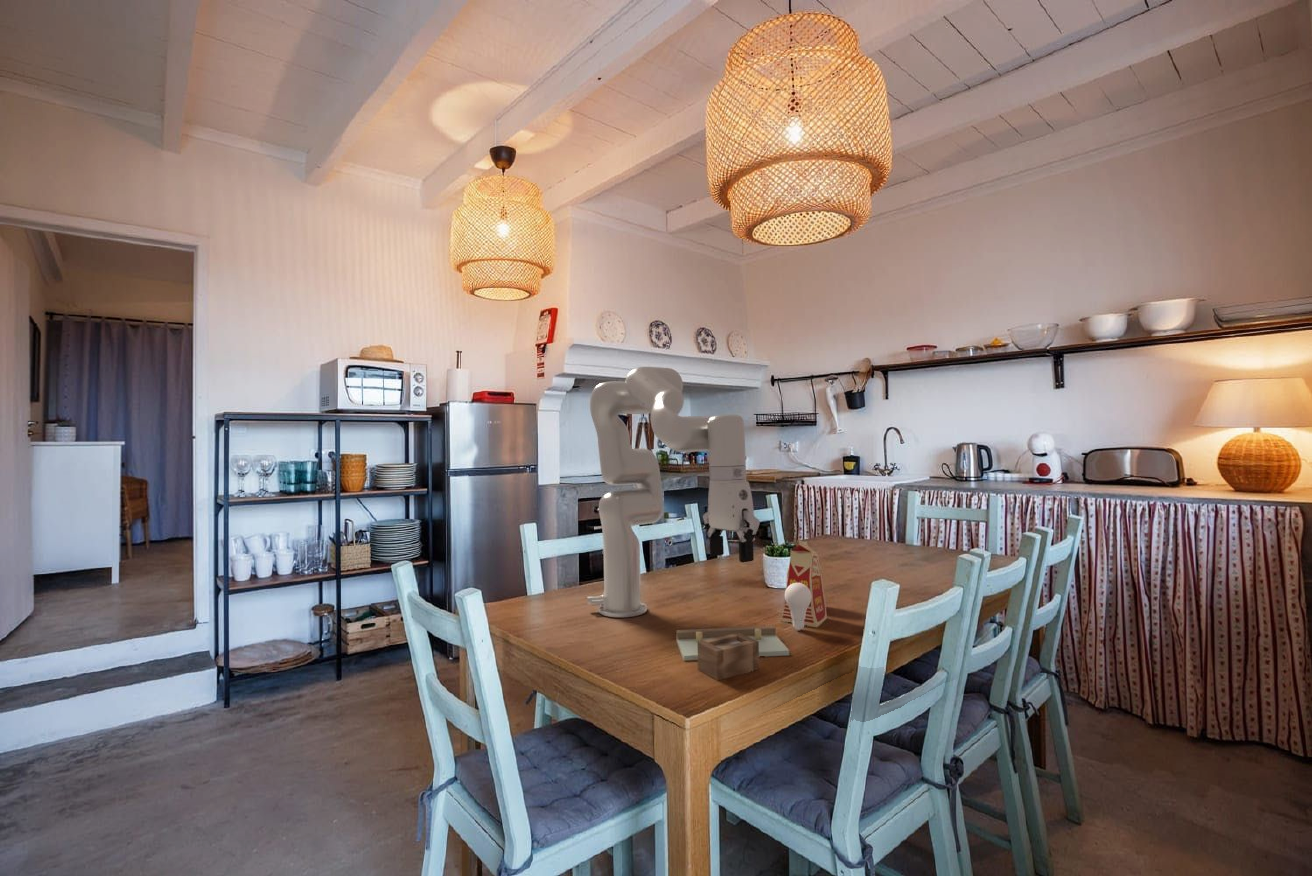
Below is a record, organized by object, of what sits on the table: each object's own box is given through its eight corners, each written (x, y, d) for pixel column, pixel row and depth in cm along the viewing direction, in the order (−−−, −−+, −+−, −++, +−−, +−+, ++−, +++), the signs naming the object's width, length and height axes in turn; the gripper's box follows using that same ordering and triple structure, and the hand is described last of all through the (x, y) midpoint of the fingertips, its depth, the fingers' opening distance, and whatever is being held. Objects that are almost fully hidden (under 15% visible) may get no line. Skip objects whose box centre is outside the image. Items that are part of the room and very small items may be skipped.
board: (683, 660, 127) (683, 646, 127) (676, 641, 139) (676, 627, 139) (789, 655, 129) (789, 640, 129) (773, 636, 141) (773, 623, 141)
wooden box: (717, 680, 116) (716, 651, 116) (698, 669, 122) (697, 641, 122) (759, 669, 121) (758, 641, 121) (738, 659, 127) (738, 632, 127)
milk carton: (816, 627, 147) (815, 542, 147) (779, 621, 152) (778, 539, 152) (828, 617, 155) (826, 536, 155) (792, 612, 160) (791, 534, 159)
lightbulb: (794, 624, 149) (793, 578, 149) (817, 630, 145) (816, 582, 145) (780, 630, 145) (779, 583, 145) (802, 636, 141) (802, 587, 141)
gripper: (770, 474, 123) (773, 561, 122) (717, 473, 138) (720, 551, 137) (740, 476, 119) (744, 566, 119) (689, 475, 134) (692, 555, 133)
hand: (731, 558), depth 128 cm, fingers open, 9 cm apart
